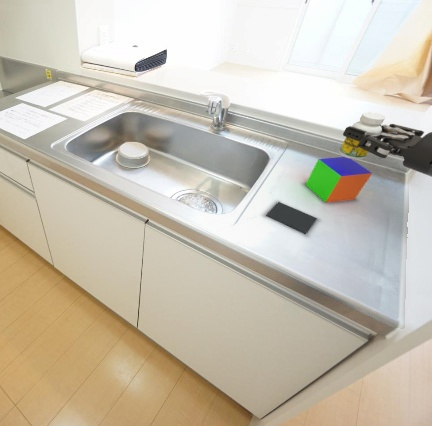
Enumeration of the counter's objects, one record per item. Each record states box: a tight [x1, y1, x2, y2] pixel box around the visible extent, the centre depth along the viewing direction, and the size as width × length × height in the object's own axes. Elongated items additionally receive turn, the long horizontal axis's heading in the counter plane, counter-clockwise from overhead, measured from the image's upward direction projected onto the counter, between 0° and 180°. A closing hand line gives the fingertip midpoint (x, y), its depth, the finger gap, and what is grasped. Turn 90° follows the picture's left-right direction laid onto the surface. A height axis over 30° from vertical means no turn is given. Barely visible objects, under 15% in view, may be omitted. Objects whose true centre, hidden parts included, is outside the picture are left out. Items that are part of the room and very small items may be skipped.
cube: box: [304, 156, 373, 203], centre depth 72 cm, size 8×8×8 cm
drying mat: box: [266, 201, 318, 235], centre depth 67 cm, size 9×7×1 cm
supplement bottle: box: [338, 112, 386, 161], centre depth 64 cm, size 5×5×10 cm
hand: (353, 127), depth 65 cm, fingers closed on supplement bottle, 5 cm apart
